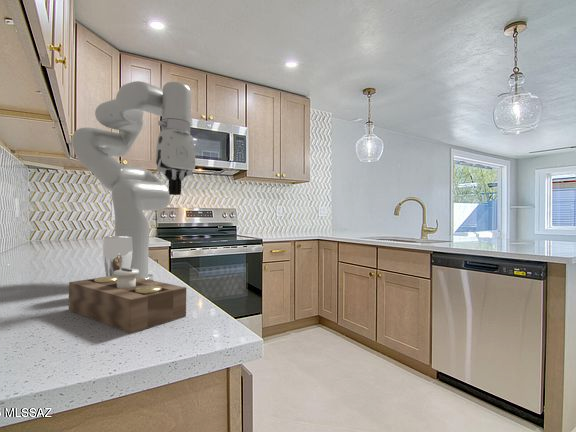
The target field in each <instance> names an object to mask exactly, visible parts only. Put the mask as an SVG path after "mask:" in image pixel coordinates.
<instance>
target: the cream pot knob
mask: <svg viewBox="0 0 576 432" xmlns="http://www.w3.org/2000/svg"><path fill="white" fill-rule="evenodd" d="M138 274H139V270H138V269H127V268H121V270H116V271H114V276H117V288H118V289H124V288H129V287H134V286H136V275H138Z"/></svg>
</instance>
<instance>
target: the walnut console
mask: <svg viewBox="0 0 576 432" xmlns="http://www.w3.org/2000/svg"><path fill="white" fill-rule="evenodd" d="M115 277H117V276H115ZM95 278H96V277H95ZM95 278H89V279H88V278H87V279H81V280H76V281H69V282H68V310H69V311H71V312H74V313H75V314H79V315H81V316H85V317H87V318H89V319H92V320H95V321H97V322H100V323H103V324H105V325H108V326H110V327H112V328H116V329H118V330H121V331H123V332H126V333H128V334H133V333H137V332H140V331H143V330H146V329H149V328H153V327H156V326H160V325H162V324H165V323H166V324H167V323H169V322H172V321H176V320H178V319H182V318H184V317H187V287H186V286H181V285H176V284H172V283H171V284H170V283H168V282H161V281H156V280H154V279H153V280H148V279H143V278H138V277H136V286H134V287H129V288H124V289H118V288H117V281H114V282H108V283H102V284H99V283H95V282H94V279H95ZM142 286H161V287H162V291H161V292H156V293H151V294H147V295H142V294H138V293H135V289H136V288H138V287H142Z"/></svg>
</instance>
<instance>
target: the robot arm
mask: <svg viewBox="0 0 576 432" xmlns="http://www.w3.org/2000/svg"><path fill="white" fill-rule="evenodd" d="M191 108H192V91H191V88H190V86H188V85H187V84H185V83H183V82H178V81H167V82H166V83H165V84H163V86H162V88H160V87H158V86H155V85H153V84H150V83H147V82H145V81H139V80H136V81H130V82H129V83H125V84H123V85H122V86H120V88H119V90H118V91H117V93H116V96H115V98H114V99H111V100H108V101H105V102H104V101H103V103H102V102H101V103H100V104H99V105H97V107H96V108H95V111H94V115H95V118H96V121H97V122H98V123H99V124H101V125H102V126H104V127H105V128H108V129H112V130H118V131H119V132H114V131H109V130H106V129H102V128H101V129H100V128H97V127H96V128H95V127H81V128H78V129H76V130H75V131H74V132H73V134H72V137H71V145H72V148H73V152H74V155H75V157H76V159H77V160H78V161H79V162H80V164H82V165H83V166H84V167H85V168H86V169H87V170H89V172H91V174H93V175H94V176H95V178H96V179H97V180H98V181H99V182H100V183H101V184H102V185H103V186H104V187H105V188H106V189H107V190H109V191H110V192H111V199H112V205H113V210H114V236H132V247H133V254H132V262H131V268H130V269H138V270H139V274H138V275H136V277H138V278H143V279H148V280H153V281H154V275H153V274H151V273H149V243H150V242H149V235H150V232H149V230H150V228H149V227H150V226H149V221H148V219H147V217H146V215H145V213H144V212H143V211H152V212H153V211H155V212H156V211H162V210H164V209H166V208H167V207H168V205H170V202H171V195H172V196H180V195H181V194H182V181H184V179H185V178H186V177H187V176H192V175H193V171H194V170H195V169H196V148H195V140H194V137H193V135H191V112H192V110H191ZM144 112H147V113H149V114H152V115H155V116H159V117H161V120H158V122H157V125H158V126H160V127H161V130H160V131H159V134H158V138H157V141H156V142H157V144H156V150H155V151H156V154H155V163H156V166H157V167H156V171H157V172H158V173H162V174H164V176H165V177H166V179H167V180H166V181H168V186H167V185H166V184H165V183H164V182H163V181H162V180H161V179H159V178H158V177H157V176H156V175H155V174H154V173H153V172H152V171H151V170H149V169H146V168H144V167H140V166H134V165H127V164H122V163H120V162H119V161H118V160H117V159H116V158H115V157H119V158H121V157H124V156H126V155H127V154H128V152H129V151H130V149H132V147H133V144H134V143H135V141H136V140H137V138H138V136H139V134H140V133H141V131H142V129H143V125H144Z"/></svg>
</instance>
